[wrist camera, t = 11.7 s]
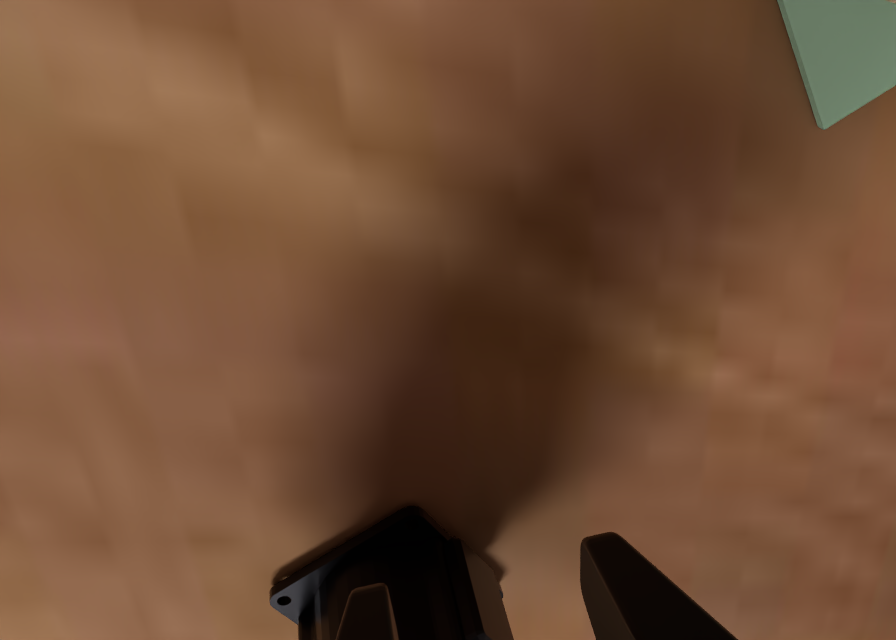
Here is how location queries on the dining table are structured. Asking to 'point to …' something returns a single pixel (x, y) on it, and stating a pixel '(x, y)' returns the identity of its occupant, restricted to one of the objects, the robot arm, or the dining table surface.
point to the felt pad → (842, 52)
